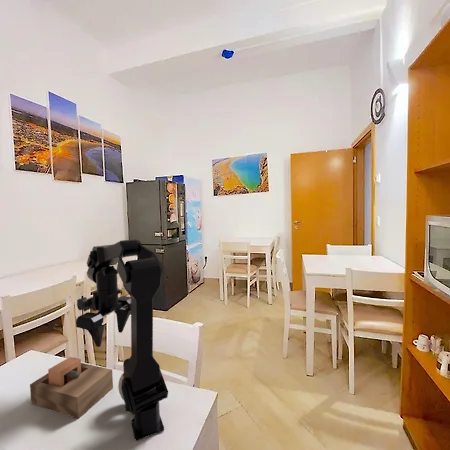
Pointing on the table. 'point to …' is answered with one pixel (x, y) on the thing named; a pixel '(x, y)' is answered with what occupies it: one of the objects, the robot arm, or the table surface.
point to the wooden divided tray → (73, 391)
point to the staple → (63, 371)
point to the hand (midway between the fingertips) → (109, 339)
